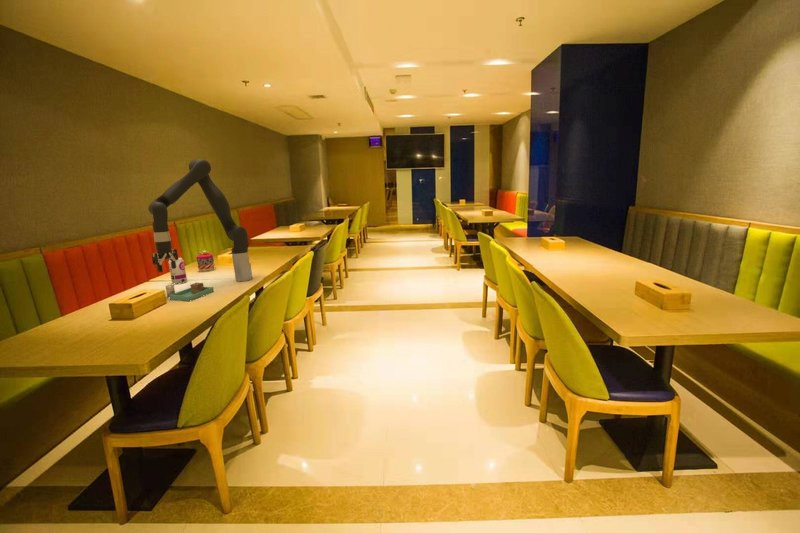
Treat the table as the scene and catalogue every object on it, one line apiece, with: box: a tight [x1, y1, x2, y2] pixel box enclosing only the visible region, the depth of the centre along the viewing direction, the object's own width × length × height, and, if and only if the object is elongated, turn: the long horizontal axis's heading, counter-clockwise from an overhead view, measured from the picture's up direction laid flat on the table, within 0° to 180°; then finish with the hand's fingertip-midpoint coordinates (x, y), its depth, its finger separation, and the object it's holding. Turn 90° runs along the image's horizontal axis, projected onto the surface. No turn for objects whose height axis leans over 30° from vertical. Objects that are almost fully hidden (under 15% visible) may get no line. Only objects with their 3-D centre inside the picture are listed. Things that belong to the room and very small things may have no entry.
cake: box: [195, 248, 215, 273], centre depth 279 cm, size 10×11×15 cm
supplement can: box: [168, 257, 188, 285], centre depth 249 cm, size 8×8×15 cm
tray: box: [169, 286, 215, 302], centre depth 221 cm, size 17×13×3 cm
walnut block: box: [189, 282, 205, 294], centre depth 224 cm, size 4×4×5 cm
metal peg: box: [165, 284, 176, 298], centre depth 221 cm, size 4×4×6 cm
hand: (167, 270), depth 218 cm, fingers open, 8 cm apart
